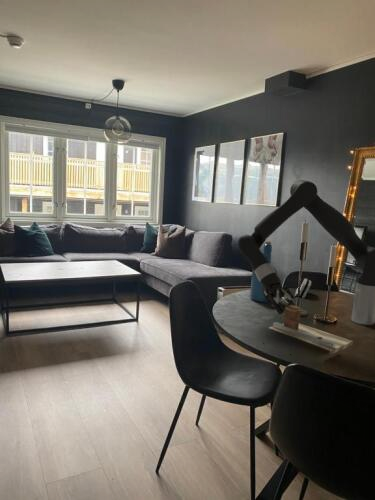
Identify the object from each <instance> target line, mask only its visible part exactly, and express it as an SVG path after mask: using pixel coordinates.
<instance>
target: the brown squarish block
mask: <svg viewBox="0 0 375 500" xmlns="http://www.w3.org/2000/svg"><path fill="white" fill-rule="evenodd" d="M301 308H302V307H301V306H298V305H297V306H296V305H295V306H294V305H285V308H284V310H285V311H284V320H283V323H284V325H286V326H289V327H292V328H295V329H297V330H298V327H299V323H300V317H301V316H300V315H301V311H302V310H301Z"/></svg>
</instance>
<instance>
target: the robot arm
mask: <svg viewBox="0 0 375 500" xmlns="http://www.w3.org/2000/svg"><path fill="white" fill-rule="evenodd" d="M289 189H290V190H289V192H290V196H289V198H287V200H286V201H284V203H282V204H281V205H279V206H278V207H277V208H275V209H274V210H272V211H271V212H270V213H267V215H266V216H265V217H264V218H262V219H261V221H260V222H258V224H256V226H255V227H254V230H253V233H252V234H251V235H249V234H244V235H241V236H240V237H239V238H238V242H237V244H238V248H239V250H240V251H241V253H242V254H243V255H244V257H245V258H246V260H247V261H248V262H249V265H250V267H251V269H252V271H253V270H254V272H255V274H256V276H257V278H258V280H259V282H260V283H261V285H262V287H263V288H264V290H265V291H264V292H263V295H264V297H265V299H266V301H267V302H268V303H267V304H268V306H272V307H274V309H275V310H276V312H277V313H278V315H282V314H285V311H284V310H285V309H283V307H282V306H281V304H280V303H279V300H281V301H285V303H287V306H289V305H294V306H296V305H295V303H294V301H293V300H294V299H295V298H296V297H295V295H294V294H293V293H292V291H291V290H290V289H289V287H288V286H287V285H285V286H284V287H283V286H282V285H281V283H282V280H281V278H280V277H279V274H278V275H277V274H276V272H275V270H274V269H273V267H274V266H273V265H272V264H271V265H272V266H273V267H272V266H271V265H270V264H269V262H268V260H267V259H266V257H265V256H264V254H263V252H262V251H261V250H260V248H261V247H262V246H263V245H264V244H265V242H266V240H267V239H268V238H269V237H270V236H272V234H273V233H274V232H275V231H277V229H278V228H280V226H282V225H283V224H284V223H285V222H286V221H287V220H288V219H289V218H291V217H292V216H293V215H295V214H297V212H298V211H300V210H301V209H303V208H304V209H305V210H307V211H308V212H309V213H310V214H311V215H312V216H313V218H314V219H315V220H316V221H317V222H318V223H319V224H320V226H321V227H322V228H323V229H324V230H325V231H326V232H327V233H328V234H329V235H330V236H331V237H332V238H333V239H335V241H337V243H339V244H340V245H341V246H343V247H344V248H345V249H346V251H348V252H349V254H350V255H351V256H352V257H353V258H354V260H355V261H356V262H357V263H358V264H359V265H360V266H361V267H363V269H362V273H361V274H360V275H358V276H357V277H356V282H355V290H354V296H353V304H352V312H351V318H350V319H351V321H352V322H354V323H355V324H359V325H363V326H373V325H375V247H372V246H370V245H368V243H366V242H365V241H363V239H361V238H360V237H359V236H358V234H357V232H356V229H355V227H354V226H353V224H352V223H351V222H350V221H349V220H348V219H347V218H346V216H345V215H344V214H343V213H342V212H340V211H339V210H337V209H336V208H335V207H333V206H332V205H330V204H329V203H328V202H326V201H324V200H323V199H322V198H321V197H320V196H319V195H318V188H317V185H316V184H315V183H314V182H313V181H308V180H297V181H295V182H293V183H292V185H291V186H290V188H289ZM269 299H271V302H270V300H269Z"/></svg>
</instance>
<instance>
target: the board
mask: <svg viewBox="0 0 375 500" xmlns="http://www.w3.org/2000/svg"><path fill="white" fill-rule="evenodd" d="M282 324H283V325H284V322H283V323H282ZM268 329H270V330H273V331H276V332H279V333H281V334H284V335H287V336H290V337H292V338H295V339H298V340H300V341H303V342H306V343H309V344H310V345H314V346H316V347H318V348H321V349H324V350H326V351H327V352H325V354H327V355H329V356H331V355H333V354H335V353H339V352H340V351H343V350H345V349H347V348H350V347H352V346H353V343H354V341H353V340H351V339H347V338H344V337H341V336H339V335H335V334H332V333H330V332H326V331H323V330H320V329H318V328H315V327H311V326H309V325H305V324H302V323H300V322H299V327H298V330H300V331H303V332H306V333H309V334H312V335H314V336H317V337H322V338H323V339H326V340H329V341H331V342H334V343H335V348H333V349H332V348H329V347H326V346H323V345H321V344H318V343H315V342H312V341H310V340H307V339H304V338H301V337H299V336H296V335H293V334H291V333H288V332H285V331H282V330H280V329H277V328H274V327H273V325H272V326H269V327H268Z"/></svg>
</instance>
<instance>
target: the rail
mask: <svg viewBox="0 0 375 500" xmlns="http://www.w3.org/2000/svg"><path fill="white" fill-rule="evenodd" d="M272 326H273V327H274V328H277V329H280V330H282V331H285V332H288V333H291V334H293V335H296V336H299V337H301V338H304V339H307V340H310V341H312V342H315V343H318V344H321V345H323V346H326V347H329V348H332V349H333V348H335V343H334V342H331V341H329V340H326V339H323V338H322V337H317V336H314V335H312V334H309V333H306V332H303V331H300V330H297V329H295V328H292V327H289V326H286V325H283V323H281V322H278V321H274V322H273V323H272Z"/></svg>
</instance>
